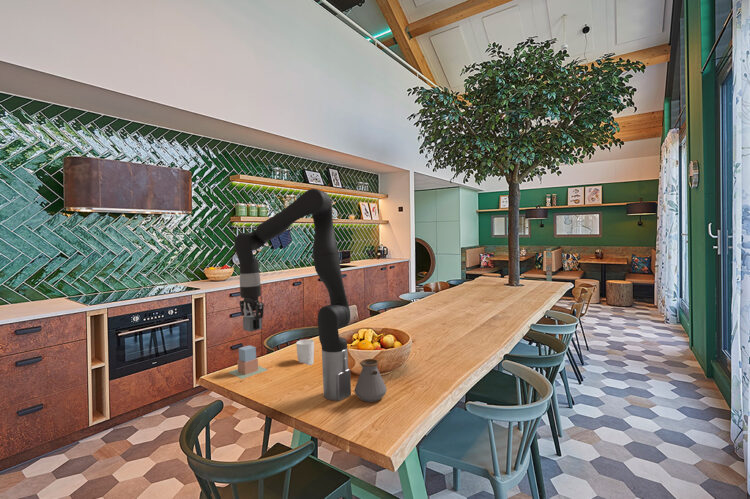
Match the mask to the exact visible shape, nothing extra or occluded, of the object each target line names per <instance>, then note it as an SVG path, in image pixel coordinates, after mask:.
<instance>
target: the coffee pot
mask: <svg viewBox="0 0 750 499" xmlns="http://www.w3.org/2000/svg"><path fill="white" fill-rule="evenodd" d="M378 364H379V360H378V359H375V358H367V359H363V360H361V361H360V362H359V365H360V366H361V368H362V369H361V371H360V375H359V376H358V380H357V382H356V385H355V387H354V394H355V396H356V397H358V399H360V400H361V401H362V402H365V403H373V402H374V403H375V402H378V401H380V400H381V399H382V398H383V397H384V396H385V395H386V392H387V386H386V383H385V382H384V379H383V377H382V375H381V373H380V370H379V369H378Z"/></svg>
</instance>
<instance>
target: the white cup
mask: <svg viewBox="0 0 750 499" xmlns="http://www.w3.org/2000/svg"><path fill="white" fill-rule="evenodd" d="M295 344H296V354H297V359H298V363H299V364H300V363H302V364H305V365H308V366H311V365H313V364H314V356H315V340H313V339H309V338H308V339H307V338H306V339H299V340H297V341H296V343H295Z"/></svg>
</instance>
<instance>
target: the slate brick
mask: <svg viewBox="0 0 750 499" xmlns="http://www.w3.org/2000/svg"><path fill="white" fill-rule="evenodd" d="M262 319H263V318H260V319H259V326H260V328H259V329H257V330H254V329H253V317H252V315H250V316H245V317H244V316H242V328H243V331H247V332H249V333H250V332H255V331H259V330H262V329H263V323H262Z"/></svg>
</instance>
